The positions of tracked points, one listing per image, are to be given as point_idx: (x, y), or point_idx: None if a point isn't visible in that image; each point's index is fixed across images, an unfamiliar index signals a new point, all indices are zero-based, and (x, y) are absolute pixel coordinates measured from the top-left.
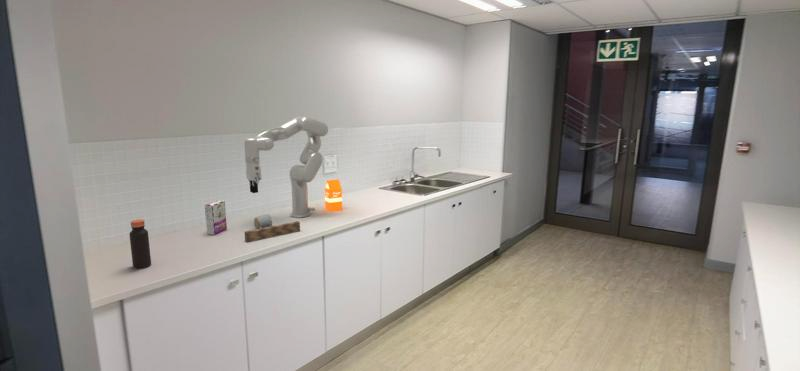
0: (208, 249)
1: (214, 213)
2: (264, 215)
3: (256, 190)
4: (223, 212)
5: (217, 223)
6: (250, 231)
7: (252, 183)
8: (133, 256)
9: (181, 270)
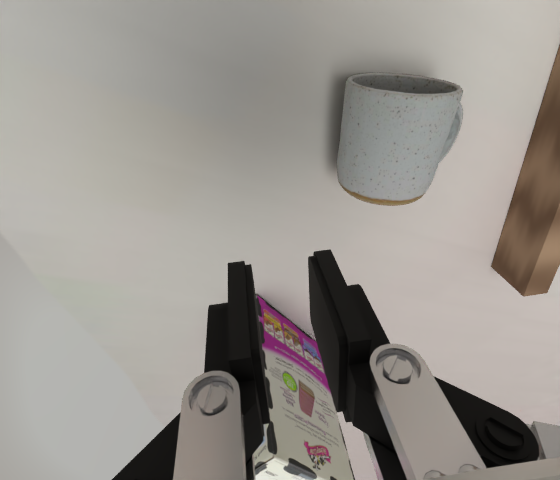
0: (464, 371)
1: (338, 436)
2: (418, 140)
3: (363, 299)
4: (282, 387)
5: (314, 372)
6: (548, 274)
7: (380, 476)
8: None
9: (552, 421)
